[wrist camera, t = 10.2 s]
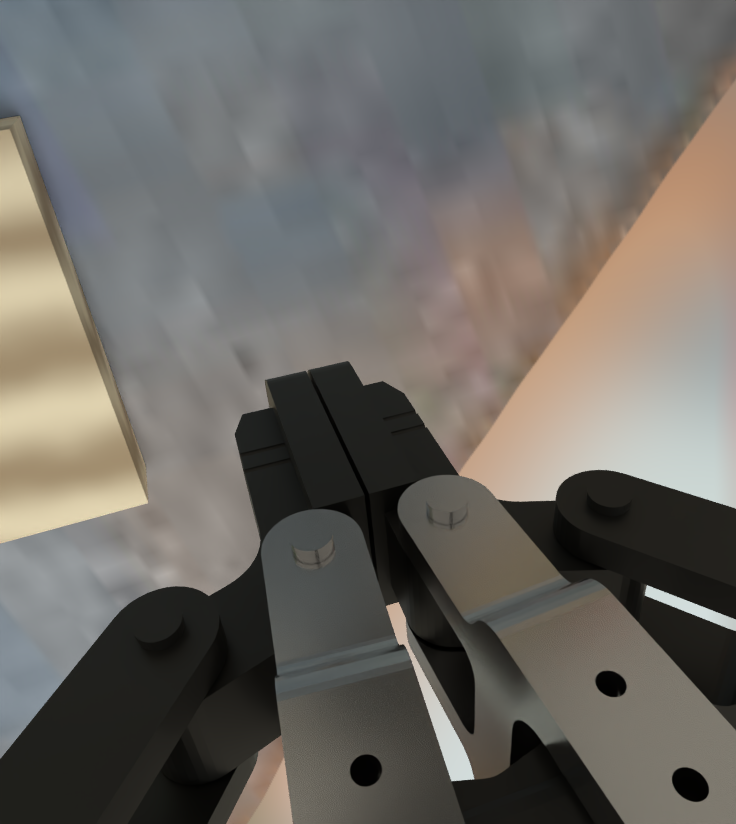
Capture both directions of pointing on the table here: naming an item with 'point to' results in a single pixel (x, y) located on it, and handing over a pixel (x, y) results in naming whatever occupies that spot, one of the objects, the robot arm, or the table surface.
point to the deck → (52, 371)
